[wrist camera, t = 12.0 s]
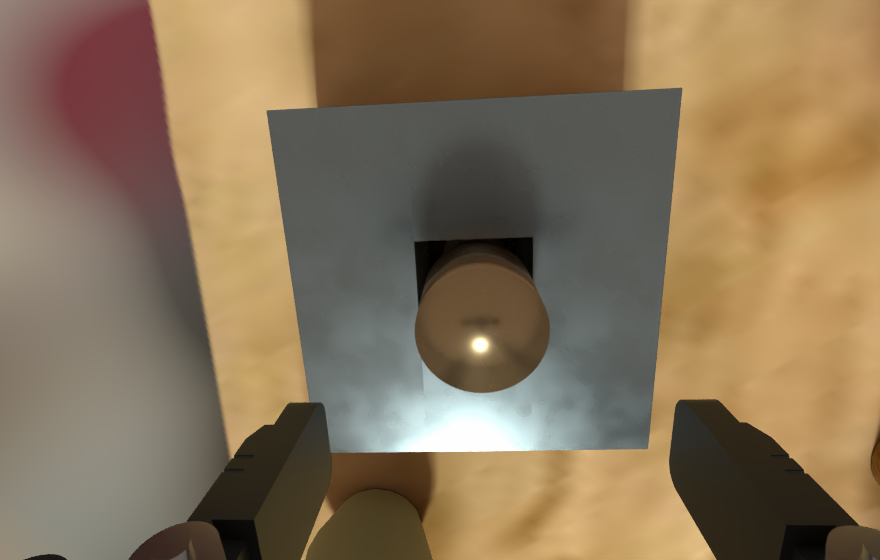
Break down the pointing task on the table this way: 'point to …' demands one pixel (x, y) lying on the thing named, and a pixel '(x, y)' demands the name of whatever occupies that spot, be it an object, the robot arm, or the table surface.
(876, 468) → the disposable coffee cup
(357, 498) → the squeeze bottle
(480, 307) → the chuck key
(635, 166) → the block
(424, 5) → the table surface
